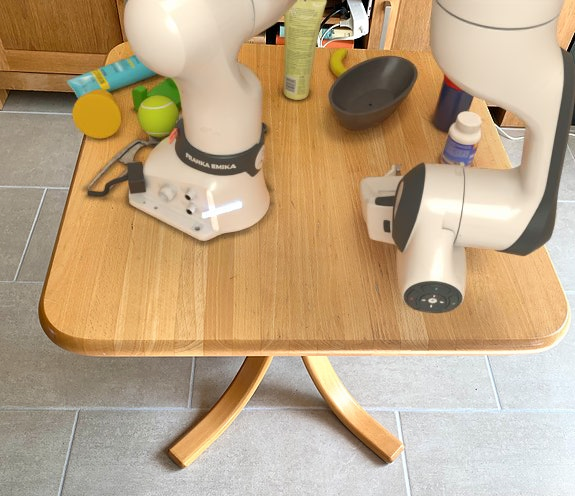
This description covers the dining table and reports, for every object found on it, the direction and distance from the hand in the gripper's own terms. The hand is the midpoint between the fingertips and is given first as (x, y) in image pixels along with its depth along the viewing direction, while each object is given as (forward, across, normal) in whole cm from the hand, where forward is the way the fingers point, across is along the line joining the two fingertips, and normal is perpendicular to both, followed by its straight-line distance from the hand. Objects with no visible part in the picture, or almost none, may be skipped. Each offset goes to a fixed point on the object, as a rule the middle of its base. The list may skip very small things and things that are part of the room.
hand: (427, 167), depth 96 cm
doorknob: (+9, +52, -8) cm, 53 cm away
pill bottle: (+11, -5, +7) cm, 14 cm away
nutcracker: (-1, +52, -4) cm, 52 cm away
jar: (+22, -4, +5) cm, 23 cm away
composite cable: (+9, +30, 0) cm, 32 cm away
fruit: (+35, +19, -3) cm, 40 cm away
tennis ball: (+3, +45, -9) cm, 46 cm away
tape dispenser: (+19, +46, -6) cm, 50 cm away
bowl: (+22, +10, +2) cm, 25 cm away
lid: (+21, -7, -6) cm, 23 cm away
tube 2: (+25, +24, -2) cm, 35 cm away
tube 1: (+27, +48, -10) cm, 56 cm away
